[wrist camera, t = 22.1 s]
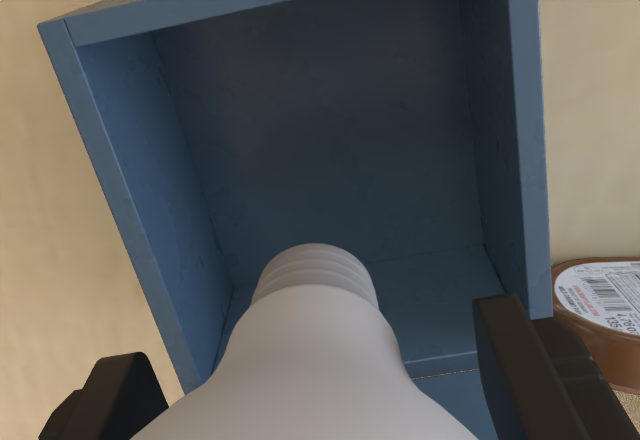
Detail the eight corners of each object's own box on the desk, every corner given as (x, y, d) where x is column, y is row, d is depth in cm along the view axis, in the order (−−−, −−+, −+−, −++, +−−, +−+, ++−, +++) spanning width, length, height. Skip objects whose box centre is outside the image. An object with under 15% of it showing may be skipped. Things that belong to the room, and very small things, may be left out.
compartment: (124, -8, 26) (34, 24, 18) (468, -86, 25) (535, -89, 17) (224, 293, 33) (191, 412, 25) (497, 246, 31) (555, 357, 23)
